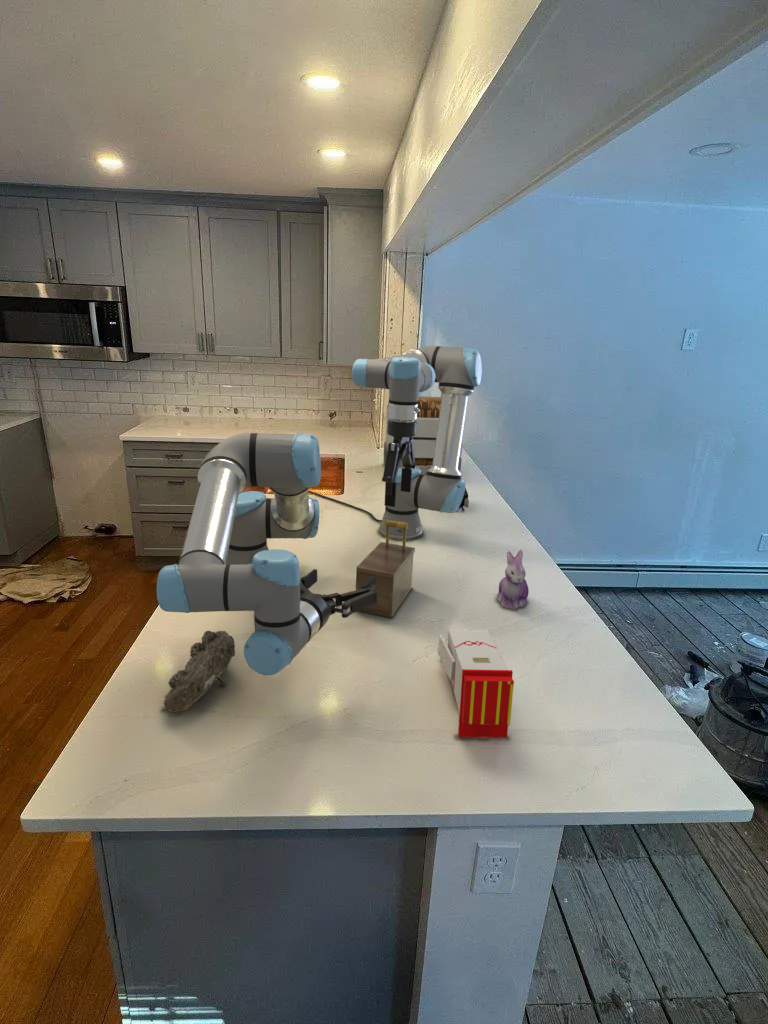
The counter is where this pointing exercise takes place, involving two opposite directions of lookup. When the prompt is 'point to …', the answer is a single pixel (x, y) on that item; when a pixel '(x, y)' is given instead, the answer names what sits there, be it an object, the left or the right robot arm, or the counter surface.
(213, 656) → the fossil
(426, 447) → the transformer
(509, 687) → the toy
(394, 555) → the lid
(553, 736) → the counter surface
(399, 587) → the chest
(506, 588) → the figurine
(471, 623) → the counter surface
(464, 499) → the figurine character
